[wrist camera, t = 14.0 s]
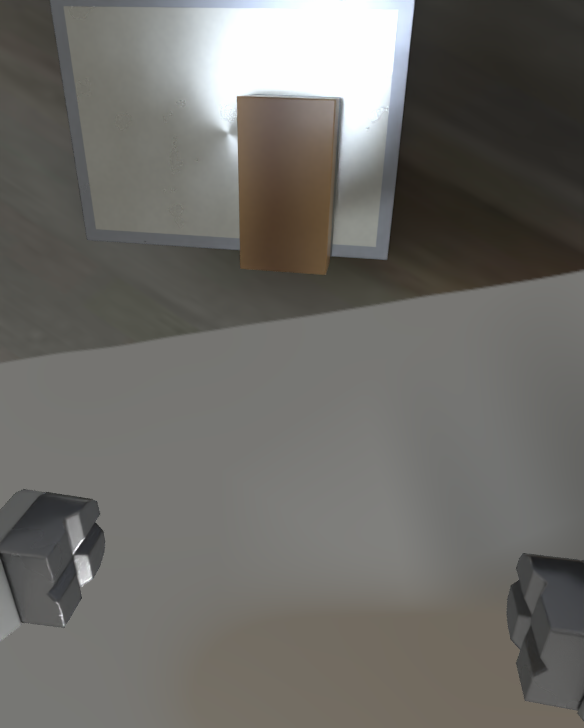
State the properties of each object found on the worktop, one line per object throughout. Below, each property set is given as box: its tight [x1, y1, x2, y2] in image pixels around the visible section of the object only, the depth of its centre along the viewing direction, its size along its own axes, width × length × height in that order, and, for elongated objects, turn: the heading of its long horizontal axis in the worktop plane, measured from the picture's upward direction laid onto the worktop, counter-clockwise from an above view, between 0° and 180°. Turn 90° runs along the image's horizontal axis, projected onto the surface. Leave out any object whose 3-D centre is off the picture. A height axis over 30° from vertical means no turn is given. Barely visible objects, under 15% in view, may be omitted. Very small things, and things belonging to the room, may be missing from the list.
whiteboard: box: [50, 0, 415, 260], centre depth 32 cm, size 20×14×1 cm
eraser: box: [237, 94, 341, 275], centre depth 31 cm, size 5×9×4 cm, turn 179°
